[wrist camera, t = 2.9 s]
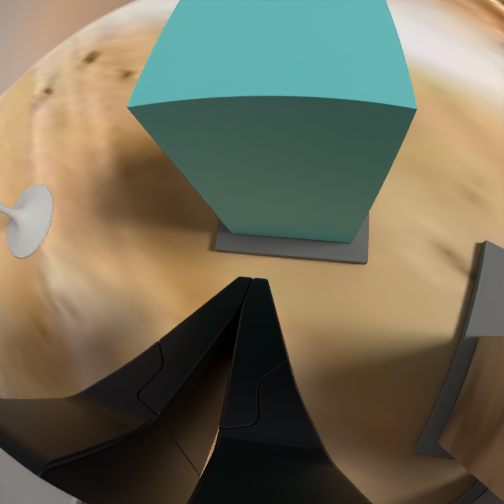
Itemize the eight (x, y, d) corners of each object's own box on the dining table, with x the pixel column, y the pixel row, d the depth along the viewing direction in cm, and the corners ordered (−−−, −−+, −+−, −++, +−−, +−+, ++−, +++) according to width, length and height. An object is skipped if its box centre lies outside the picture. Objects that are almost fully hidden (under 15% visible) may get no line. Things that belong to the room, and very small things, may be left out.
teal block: (352, 243, 17) (417, 108, 6) (232, 233, 18) (126, 107, 7) (353, 139, 18) (375, -23, 7) (247, 134, 20) (191, -19, 8)
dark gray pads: (469, 554, 10) (471, 557, 9) (144, 155, 22) (140, 151, 21) (601, 400, 10) (605, 400, 9) (321, 37, 22) (321, 33, 21)
